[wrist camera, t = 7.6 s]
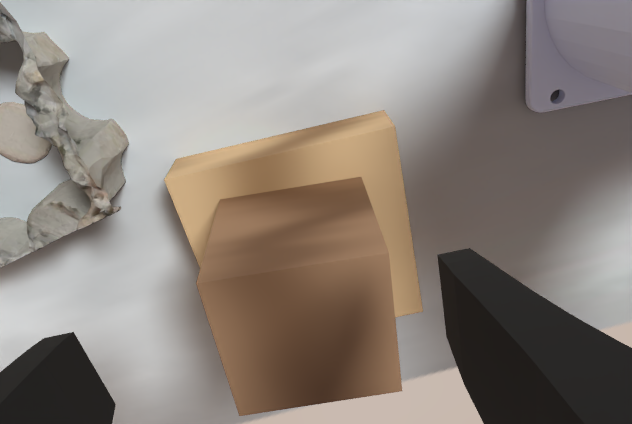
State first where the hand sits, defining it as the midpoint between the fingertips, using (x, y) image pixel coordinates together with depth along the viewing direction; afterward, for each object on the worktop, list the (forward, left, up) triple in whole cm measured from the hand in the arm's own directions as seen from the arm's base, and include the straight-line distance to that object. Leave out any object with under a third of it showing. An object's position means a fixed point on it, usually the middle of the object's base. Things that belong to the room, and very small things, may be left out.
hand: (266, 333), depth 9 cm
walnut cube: (0, +3, -8) cm, 8 cm away
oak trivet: (0, +3, -10) cm, 11 cm away
